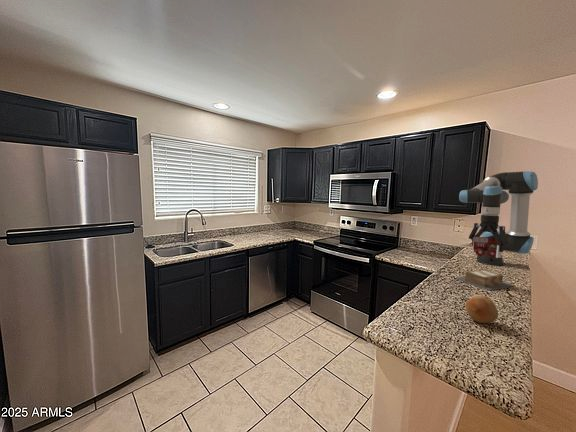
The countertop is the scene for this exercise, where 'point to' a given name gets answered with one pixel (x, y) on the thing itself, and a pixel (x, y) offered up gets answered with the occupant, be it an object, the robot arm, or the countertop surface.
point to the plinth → (484, 278)
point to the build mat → (503, 285)
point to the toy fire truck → (485, 246)
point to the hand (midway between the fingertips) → (486, 254)
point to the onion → (481, 309)
